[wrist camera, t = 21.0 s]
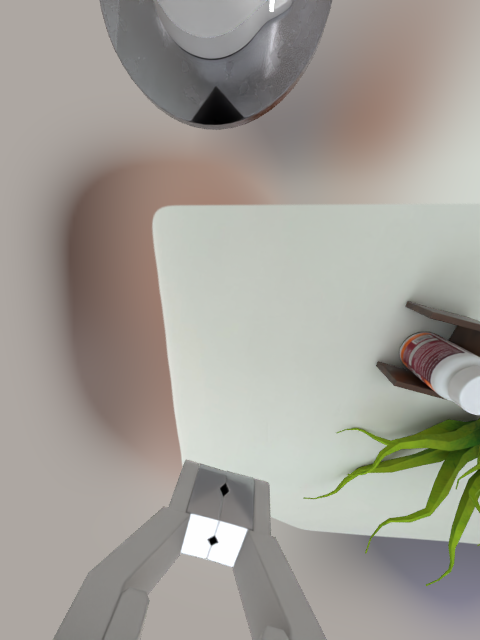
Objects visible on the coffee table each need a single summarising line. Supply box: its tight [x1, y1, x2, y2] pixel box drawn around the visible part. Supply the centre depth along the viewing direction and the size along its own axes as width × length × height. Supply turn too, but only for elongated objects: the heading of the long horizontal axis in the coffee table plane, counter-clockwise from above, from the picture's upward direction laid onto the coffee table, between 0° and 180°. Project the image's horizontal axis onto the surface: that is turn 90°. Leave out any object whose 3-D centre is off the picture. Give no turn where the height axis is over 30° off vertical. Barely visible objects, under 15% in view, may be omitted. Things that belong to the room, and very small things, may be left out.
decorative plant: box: [305, 418, 480, 586], centre depth 35 cm, size 18×30×15 cm, turn 96°
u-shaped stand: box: [376, 302, 480, 400], centre depth 33 cm, size 11×9×6 cm
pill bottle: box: [399, 332, 480, 415], centre depth 31 cm, size 6×6×11 cm
